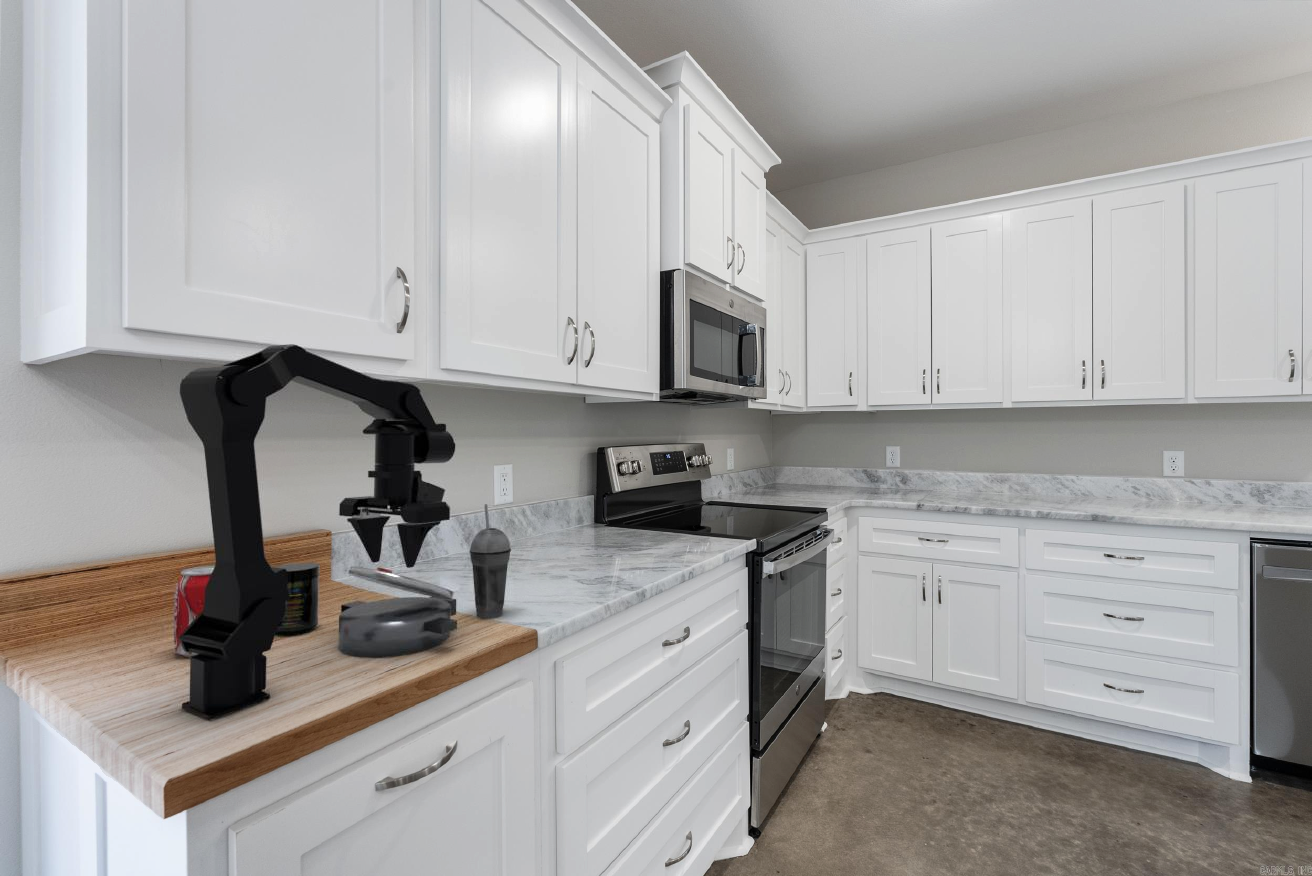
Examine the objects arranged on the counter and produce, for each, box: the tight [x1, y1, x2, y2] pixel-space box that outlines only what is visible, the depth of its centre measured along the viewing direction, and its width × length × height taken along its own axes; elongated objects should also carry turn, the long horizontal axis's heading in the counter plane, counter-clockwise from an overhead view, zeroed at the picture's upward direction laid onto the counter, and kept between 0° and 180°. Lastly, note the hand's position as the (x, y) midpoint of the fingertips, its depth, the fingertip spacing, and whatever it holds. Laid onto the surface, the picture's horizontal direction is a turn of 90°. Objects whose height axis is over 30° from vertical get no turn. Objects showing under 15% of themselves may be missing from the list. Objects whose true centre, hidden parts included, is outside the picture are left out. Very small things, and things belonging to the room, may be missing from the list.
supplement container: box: [275, 562, 320, 637], centre depth 96 cm, size 7×7×10 cm
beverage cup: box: [469, 503, 512, 620], centre depth 106 cm, size 7×7×20 cm
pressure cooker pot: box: [338, 596, 458, 659], centre depth 93 cm, size 18×23×4 cm
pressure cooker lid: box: [347, 565, 455, 599], centre depth 93 cm, size 16×16×2 cm
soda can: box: [173, 565, 232, 658], centre depth 86 cm, size 7×7×12 cm
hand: (392, 564), depth 91 cm, fingers open, 8 cm apart
